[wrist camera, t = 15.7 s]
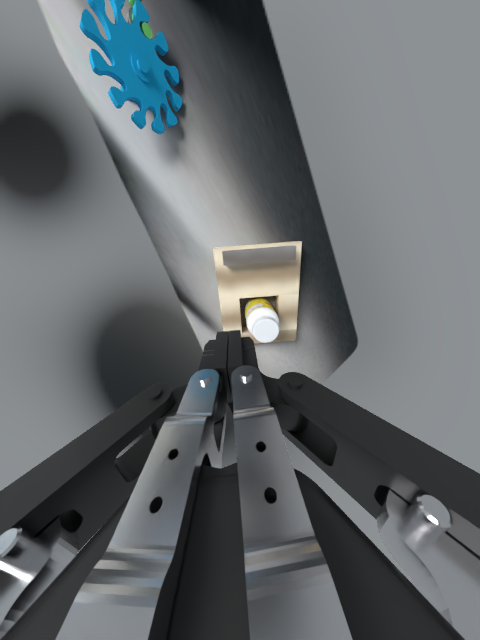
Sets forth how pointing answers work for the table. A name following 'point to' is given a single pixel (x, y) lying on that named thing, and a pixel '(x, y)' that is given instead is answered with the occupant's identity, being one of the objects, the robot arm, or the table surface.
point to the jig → (259, 283)
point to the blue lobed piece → (133, 61)
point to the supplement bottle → (261, 319)
